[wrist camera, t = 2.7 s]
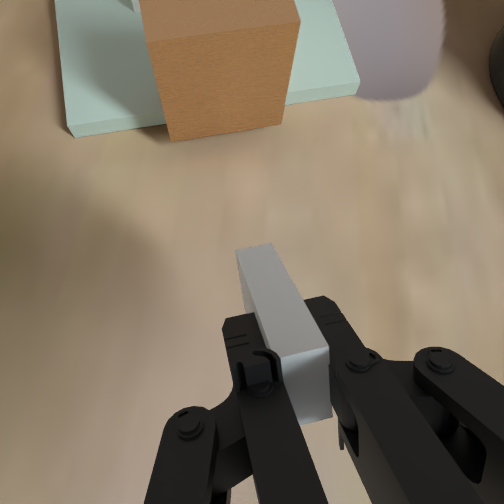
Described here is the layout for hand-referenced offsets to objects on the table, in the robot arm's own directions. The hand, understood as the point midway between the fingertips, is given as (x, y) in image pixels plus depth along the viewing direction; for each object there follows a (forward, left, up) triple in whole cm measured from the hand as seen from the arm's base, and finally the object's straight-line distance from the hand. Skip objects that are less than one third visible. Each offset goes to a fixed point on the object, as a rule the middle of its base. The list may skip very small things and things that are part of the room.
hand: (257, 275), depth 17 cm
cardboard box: (-1, -20, -9) cm, 22 cm away
